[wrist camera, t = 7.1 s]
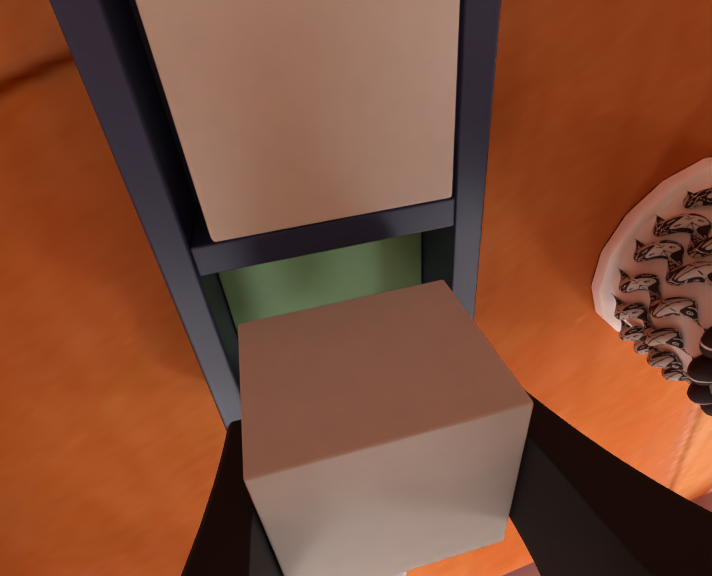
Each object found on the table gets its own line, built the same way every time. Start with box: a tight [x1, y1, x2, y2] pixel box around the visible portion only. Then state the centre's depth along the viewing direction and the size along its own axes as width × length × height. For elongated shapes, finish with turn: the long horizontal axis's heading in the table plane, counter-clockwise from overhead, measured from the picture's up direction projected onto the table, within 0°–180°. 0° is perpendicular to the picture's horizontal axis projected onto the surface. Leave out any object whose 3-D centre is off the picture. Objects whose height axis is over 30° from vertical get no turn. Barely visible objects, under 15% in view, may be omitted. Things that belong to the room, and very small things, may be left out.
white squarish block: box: [238, 280, 533, 576], centre depth 10 cm, size 5×5×4 cm
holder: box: [49, 0, 501, 430], centre depth 12 cm, size 8×15×3 cm, turn 5°
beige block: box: [136, 0, 460, 242], centre depth 9 cm, size 5×5×4 cm
